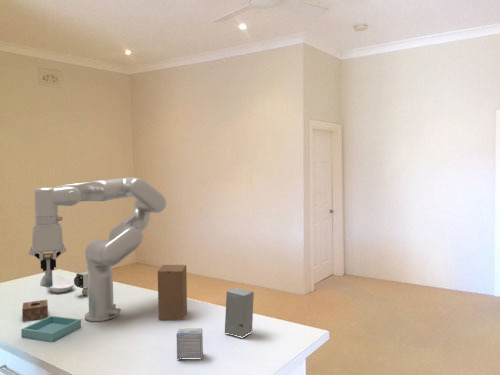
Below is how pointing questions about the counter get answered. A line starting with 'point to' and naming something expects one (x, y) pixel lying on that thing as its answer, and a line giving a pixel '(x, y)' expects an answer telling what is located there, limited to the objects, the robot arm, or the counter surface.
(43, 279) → the spoon rest
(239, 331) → the skincare box
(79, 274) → the pneumatic valve
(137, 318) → the counter surface
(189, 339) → the medicine box
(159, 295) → the wooden block
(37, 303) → the block
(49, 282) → the lock pin
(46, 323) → the tray
